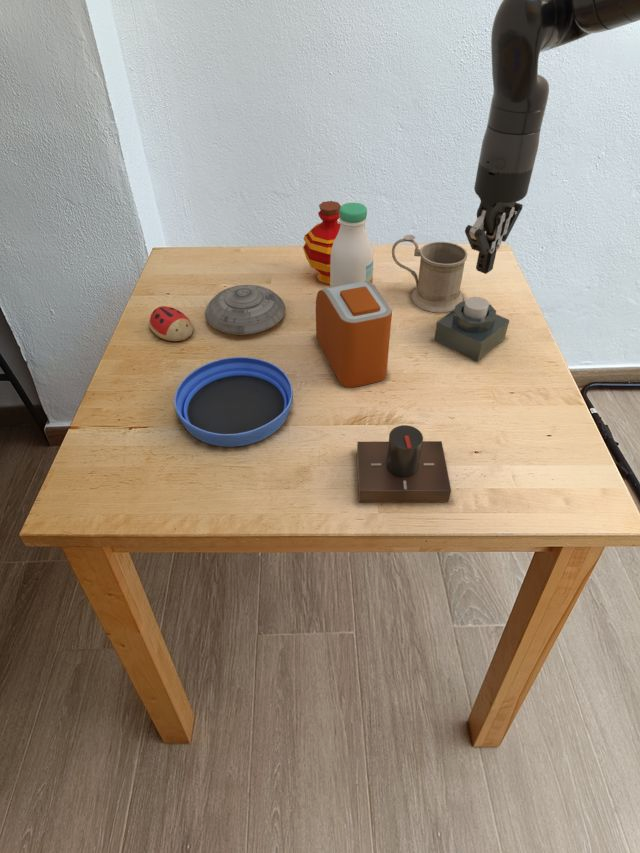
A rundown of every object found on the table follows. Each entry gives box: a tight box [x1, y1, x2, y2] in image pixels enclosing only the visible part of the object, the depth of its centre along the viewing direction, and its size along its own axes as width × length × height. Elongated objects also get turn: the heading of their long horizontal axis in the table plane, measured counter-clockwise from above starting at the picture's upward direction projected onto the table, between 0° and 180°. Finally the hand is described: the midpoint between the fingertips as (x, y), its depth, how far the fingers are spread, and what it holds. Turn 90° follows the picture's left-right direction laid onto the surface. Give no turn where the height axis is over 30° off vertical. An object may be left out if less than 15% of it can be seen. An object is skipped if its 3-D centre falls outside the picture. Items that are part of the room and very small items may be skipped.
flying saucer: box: [204, 284, 287, 336], centre depth 108 cm, size 15×15×6 cm
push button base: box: [433, 300, 510, 363], centre depth 101 cm, size 9×9×6 cm
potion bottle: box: [302, 200, 342, 285], centre depth 114 cm, size 10×10×15 cm
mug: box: [391, 234, 468, 314], centre depth 109 cm, size 14×10×12 cm
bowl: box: [173, 356, 294, 448], centre depth 90 cm, size 18×18×4 cm
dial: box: [386, 424, 424, 477], centre depth 78 cm, size 4×4×6 cm
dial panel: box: [356, 440, 452, 503], centre depth 80 cm, size 12×9×3 cm
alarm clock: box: [315, 281, 393, 388], centre depth 95 cm, size 15×8×14 cm, turn 18°
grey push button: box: [463, 296, 490, 319], centre depth 99 cm, size 4×4×2 cm
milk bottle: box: [329, 202, 374, 288], centre depth 104 cm, size 8×8×20 cm
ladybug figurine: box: [149, 305, 194, 342], centre depth 106 cm, size 7×10×4 cm
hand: (483, 270), depth 94 cm, fingers closed
